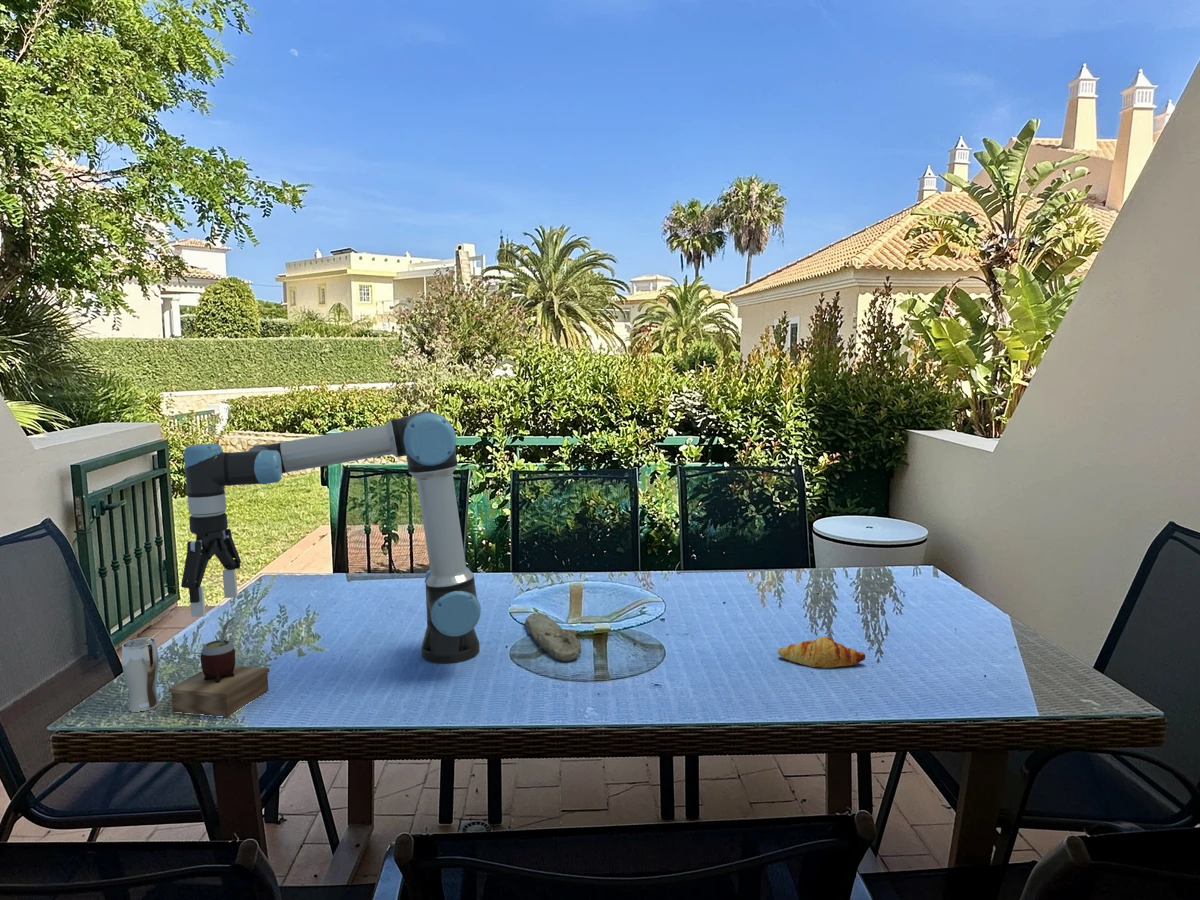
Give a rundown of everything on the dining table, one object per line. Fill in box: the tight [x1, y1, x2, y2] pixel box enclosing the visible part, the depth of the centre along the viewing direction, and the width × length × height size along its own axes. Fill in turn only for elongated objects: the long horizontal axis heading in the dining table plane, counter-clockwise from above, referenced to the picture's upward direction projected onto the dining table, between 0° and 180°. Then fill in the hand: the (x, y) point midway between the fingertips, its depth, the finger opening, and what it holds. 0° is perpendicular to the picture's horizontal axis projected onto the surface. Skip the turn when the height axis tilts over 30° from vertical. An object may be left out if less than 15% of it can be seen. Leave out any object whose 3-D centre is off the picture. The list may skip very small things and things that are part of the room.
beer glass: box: [121, 637, 161, 713], centre depth 171 cm, size 7×7×15 cm
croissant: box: [777, 635, 866, 669], centre depth 192 cm, size 21×10×8 cm, turn 76°
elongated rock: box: [524, 613, 582, 662], centre depth 210 cm, size 35×5×10 cm
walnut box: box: [168, 665, 270, 718], centre depth 174 cm, size 15×15×6 cm
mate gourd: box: [199, 616, 236, 683], centre depth 173 cm, size 8×8×15 cm
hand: (215, 606), depth 172 cm, fingers open, 13 cm apart
